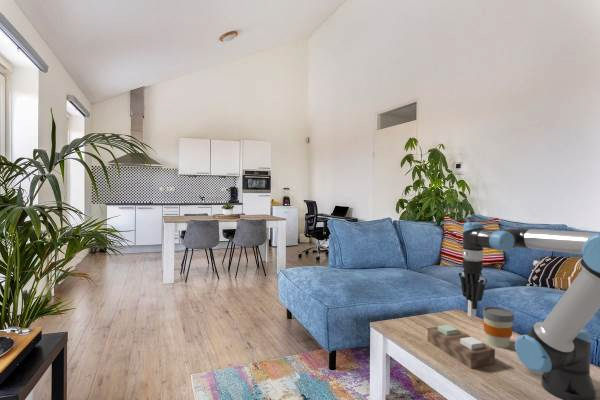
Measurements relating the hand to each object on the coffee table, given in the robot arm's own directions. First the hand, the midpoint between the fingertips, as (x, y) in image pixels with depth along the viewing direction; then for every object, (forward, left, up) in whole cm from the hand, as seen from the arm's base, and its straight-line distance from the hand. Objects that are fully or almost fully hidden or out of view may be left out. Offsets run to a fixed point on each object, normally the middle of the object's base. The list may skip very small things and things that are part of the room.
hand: (471, 315), depth 141 cm
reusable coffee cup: (+8, -23, -19) cm, 31 cm away
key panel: (+7, 0, -18) cm, 20 cm away
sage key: (+14, 0, -16) cm, 21 cm away
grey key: (0, 0, -16) cm, 16 cm away
